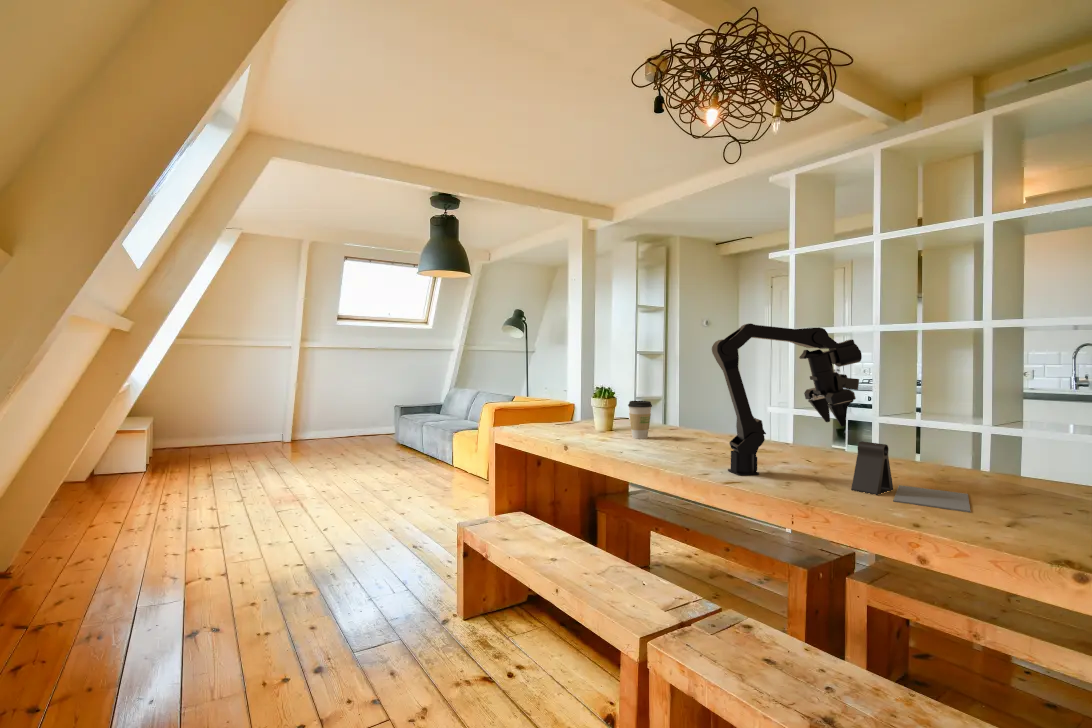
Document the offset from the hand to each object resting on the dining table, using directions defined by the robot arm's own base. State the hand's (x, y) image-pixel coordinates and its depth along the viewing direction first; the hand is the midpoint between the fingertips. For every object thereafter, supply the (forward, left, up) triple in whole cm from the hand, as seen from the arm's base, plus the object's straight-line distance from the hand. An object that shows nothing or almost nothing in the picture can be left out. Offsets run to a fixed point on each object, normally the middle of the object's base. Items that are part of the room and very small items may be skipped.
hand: (835, 424), depth 150 cm
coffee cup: (-29, +74, -15) cm, 81 cm away
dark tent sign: (-3, -17, -15) cm, 23 cm away
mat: (+4, -26, -14) cm, 30 cm away
